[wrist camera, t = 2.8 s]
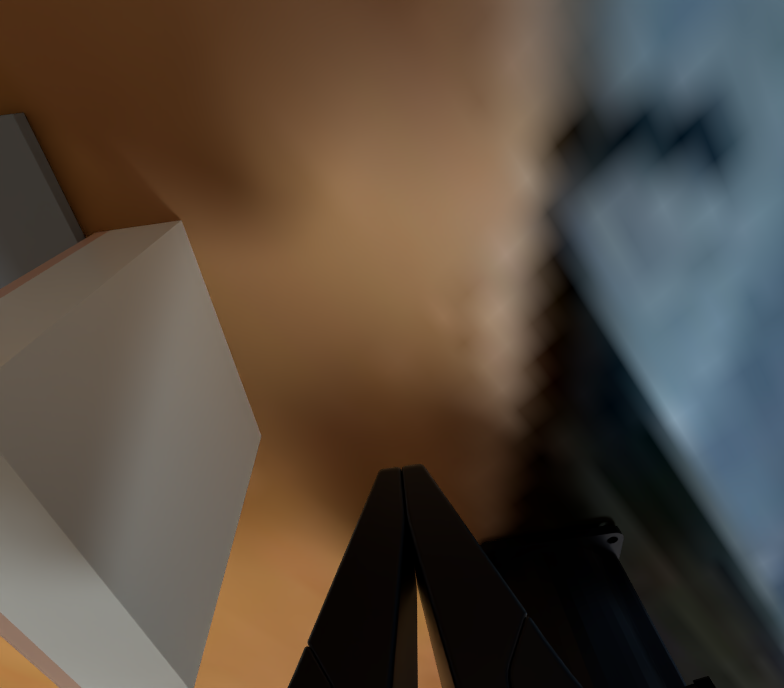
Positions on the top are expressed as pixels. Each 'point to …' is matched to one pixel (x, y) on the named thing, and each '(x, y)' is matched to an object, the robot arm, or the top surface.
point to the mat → (29, 204)
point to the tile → (117, 461)
